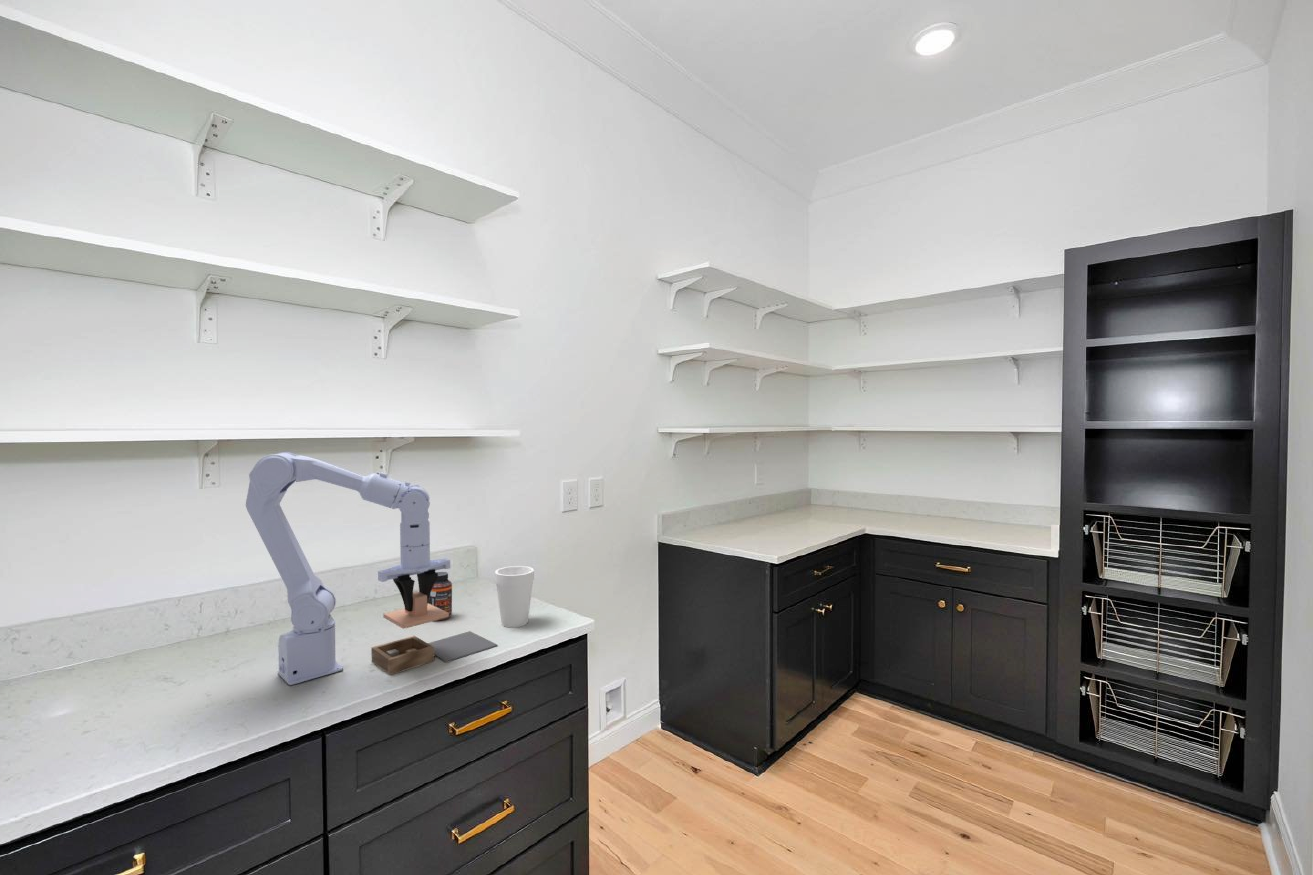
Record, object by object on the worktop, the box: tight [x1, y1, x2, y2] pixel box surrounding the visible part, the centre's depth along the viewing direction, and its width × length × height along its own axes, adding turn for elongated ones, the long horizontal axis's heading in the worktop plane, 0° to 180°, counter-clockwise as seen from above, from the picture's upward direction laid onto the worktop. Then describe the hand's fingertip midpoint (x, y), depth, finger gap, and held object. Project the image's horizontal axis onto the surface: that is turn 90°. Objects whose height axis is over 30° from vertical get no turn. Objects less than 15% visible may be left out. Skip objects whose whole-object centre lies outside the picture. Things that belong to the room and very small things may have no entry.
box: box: [371, 635, 435, 676], centre depth 120 cm, size 9×9×3 cm
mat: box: [427, 630, 498, 663], centre depth 128 cm, size 12×12×1 cm
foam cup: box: [494, 565, 535, 628], centre depth 143 cm, size 10×9×13 cm
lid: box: [382, 590, 449, 629], centre depth 121 cm, size 10×10×5 cm
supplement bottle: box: [428, 571, 453, 622], centre depth 147 cm, size 6×6×11 cm
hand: (416, 608), depth 121 cm, fingers closed on lid, 2 cm apart
